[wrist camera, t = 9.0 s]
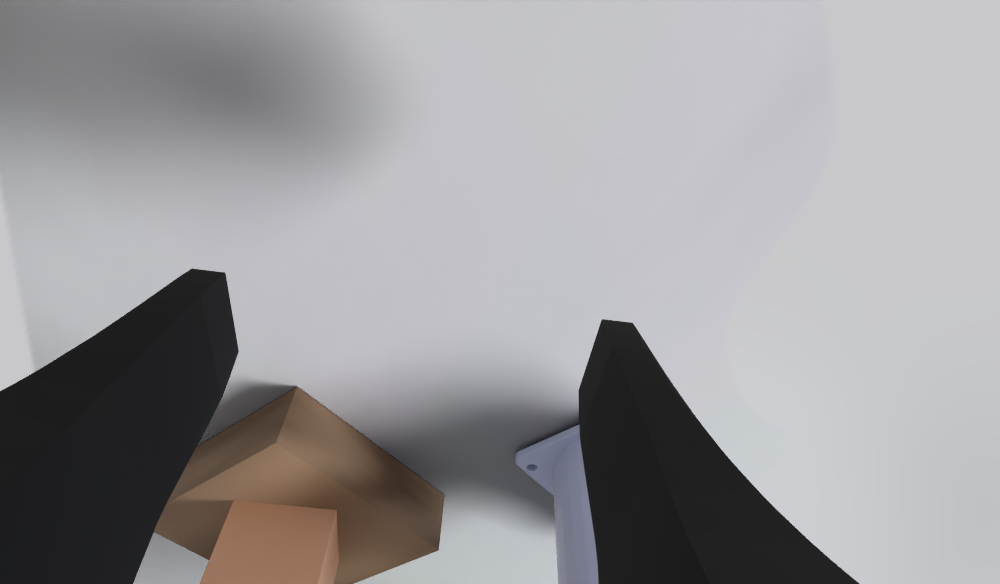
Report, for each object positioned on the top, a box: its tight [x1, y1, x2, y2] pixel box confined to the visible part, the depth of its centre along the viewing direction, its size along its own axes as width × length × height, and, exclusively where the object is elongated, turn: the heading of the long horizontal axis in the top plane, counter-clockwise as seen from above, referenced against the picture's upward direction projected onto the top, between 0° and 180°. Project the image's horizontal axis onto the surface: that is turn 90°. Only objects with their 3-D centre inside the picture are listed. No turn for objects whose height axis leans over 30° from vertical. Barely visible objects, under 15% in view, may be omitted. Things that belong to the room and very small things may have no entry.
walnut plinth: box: [154, 387, 444, 584], centre depth 30 cm, size 10×10×3 cm
